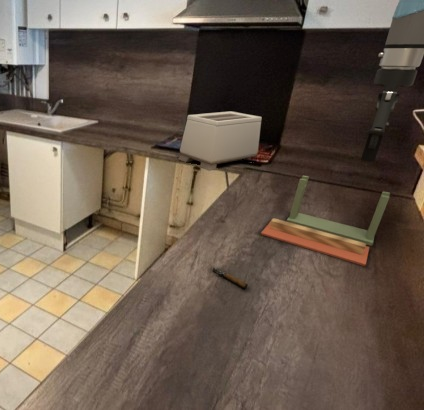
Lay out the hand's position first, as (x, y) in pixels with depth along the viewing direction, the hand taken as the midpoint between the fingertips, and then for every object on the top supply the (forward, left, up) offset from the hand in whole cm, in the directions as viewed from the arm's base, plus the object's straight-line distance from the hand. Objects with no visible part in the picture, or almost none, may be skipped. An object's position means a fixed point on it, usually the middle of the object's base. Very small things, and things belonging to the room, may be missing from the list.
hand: (369, 155), depth 93 cm
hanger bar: (+5, +11, -22) cm, 26 cm away
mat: (+5, +12, -23) cm, 26 cm away
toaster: (+54, -48, -23) cm, 76 cm away
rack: (+3, 0, -23) cm, 23 cm away
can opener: (+16, +45, -23) cm, 53 cm away
